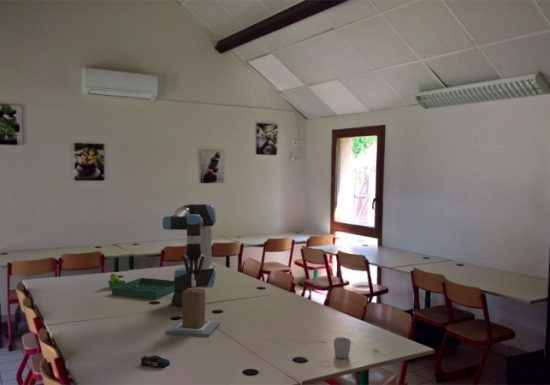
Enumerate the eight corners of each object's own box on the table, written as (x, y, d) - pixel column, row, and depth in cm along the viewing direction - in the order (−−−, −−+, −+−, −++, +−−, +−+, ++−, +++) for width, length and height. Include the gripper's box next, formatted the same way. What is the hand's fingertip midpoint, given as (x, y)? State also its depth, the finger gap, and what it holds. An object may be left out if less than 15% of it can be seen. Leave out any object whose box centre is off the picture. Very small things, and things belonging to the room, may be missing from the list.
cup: (330, 351, 240) (331, 335, 239) (346, 351, 240) (347, 335, 240) (335, 360, 229) (335, 343, 228) (352, 359, 229) (352, 342, 229)
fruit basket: (126, 287, 360) (126, 272, 360) (116, 290, 353) (116, 274, 352) (115, 285, 366) (115, 270, 366) (105, 288, 359) (105, 272, 358)
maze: (182, 289, 362) (182, 281, 361) (156, 300, 328) (156, 291, 328) (141, 285, 373) (141, 277, 373) (112, 295, 340) (112, 287, 340)
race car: (175, 363, 224) (175, 354, 223) (170, 370, 217) (170, 360, 217) (143, 362, 225) (143, 352, 225) (137, 368, 219) (137, 358, 218)
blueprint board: (165, 333, 263) (165, 329, 263) (179, 322, 282) (179, 317, 282) (209, 336, 259) (209, 331, 259) (219, 324, 278) (219, 320, 278)
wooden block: (199, 329, 265) (199, 292, 264) (181, 328, 267) (181, 291, 266) (205, 323, 274) (205, 288, 273) (188, 322, 276) (188, 287, 275)
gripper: (179, 243, 265) (179, 287, 267) (203, 244, 263) (203, 288, 264) (184, 241, 273) (184, 283, 274) (207, 242, 271) (207, 284, 272)
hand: (193, 285), depth 269 cm, fingers closed
